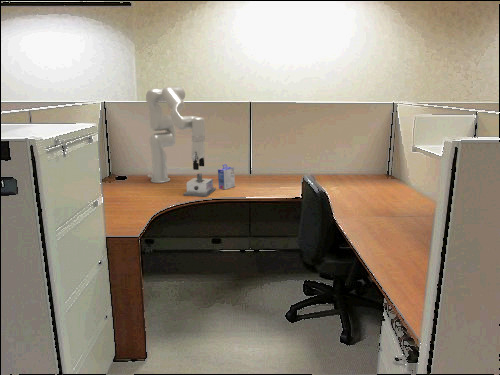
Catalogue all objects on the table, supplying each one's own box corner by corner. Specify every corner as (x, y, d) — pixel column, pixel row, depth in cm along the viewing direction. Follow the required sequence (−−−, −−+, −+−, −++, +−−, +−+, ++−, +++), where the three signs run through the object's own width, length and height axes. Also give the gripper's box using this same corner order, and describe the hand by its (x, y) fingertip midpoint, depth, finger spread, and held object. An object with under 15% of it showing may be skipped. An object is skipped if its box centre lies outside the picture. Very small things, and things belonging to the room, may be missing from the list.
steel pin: (196, 191, 260) (196, 174, 257) (198, 189, 262) (197, 173, 260) (201, 191, 259) (201, 174, 256) (203, 190, 262) (202, 173, 259)
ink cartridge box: (228, 185, 278) (228, 163, 274) (235, 186, 274) (235, 164, 271) (217, 188, 270) (217, 165, 267) (224, 189, 267) (224, 166, 264)
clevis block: (183, 195, 254) (182, 183, 252) (194, 188, 271) (193, 176, 269) (206, 197, 251) (206, 184, 249) (216, 189, 268) (215, 178, 266)
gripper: (197, 136, 262) (197, 164, 267) (186, 140, 246) (187, 170, 250) (209, 137, 261) (209, 165, 265) (199, 141, 244) (199, 171, 249)
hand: (198, 167), depth 258 cm, fingers open, 9 cm apart
